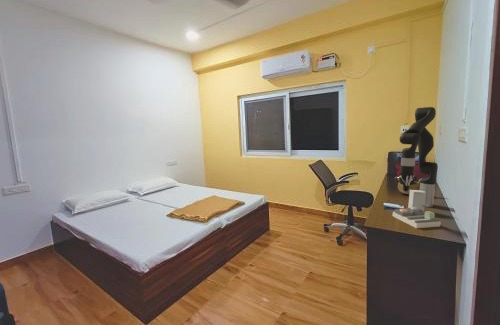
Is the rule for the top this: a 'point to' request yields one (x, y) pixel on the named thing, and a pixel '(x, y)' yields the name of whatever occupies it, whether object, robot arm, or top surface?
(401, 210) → the terracotta button
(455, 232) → the top surface
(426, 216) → the sage slider
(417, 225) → the panel
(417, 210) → the grey button
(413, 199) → the skincare box
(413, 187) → the tan woven basket
